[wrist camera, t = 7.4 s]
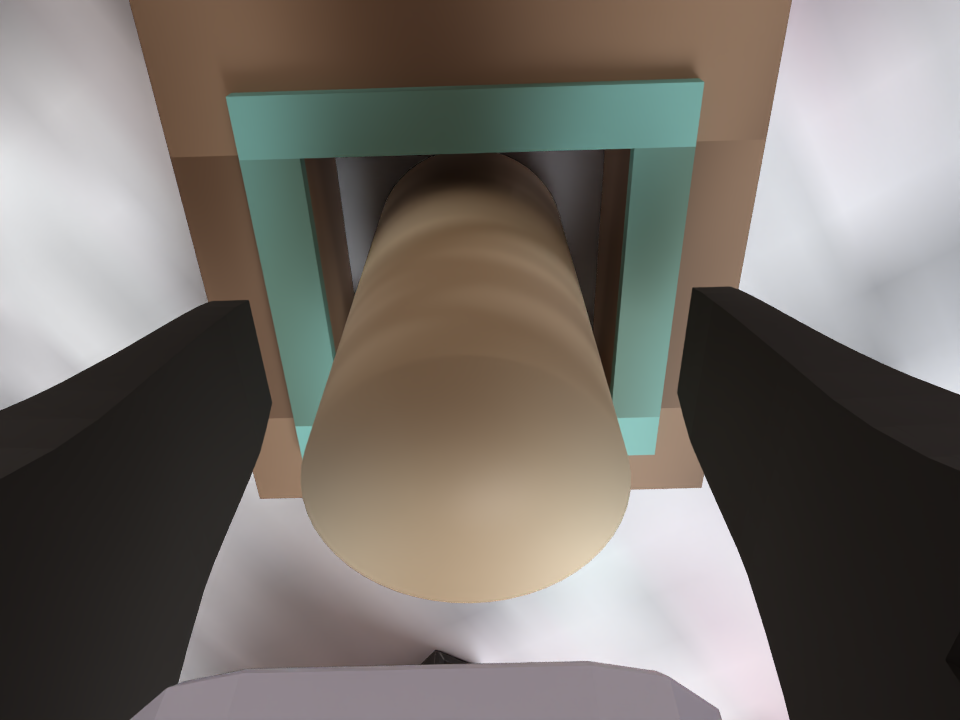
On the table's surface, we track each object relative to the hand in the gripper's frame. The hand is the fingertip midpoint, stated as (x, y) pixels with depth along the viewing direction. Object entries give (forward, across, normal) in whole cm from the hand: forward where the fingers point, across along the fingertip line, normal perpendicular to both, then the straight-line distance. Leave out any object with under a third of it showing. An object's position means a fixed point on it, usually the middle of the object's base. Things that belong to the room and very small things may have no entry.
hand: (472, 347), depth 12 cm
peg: (+4, 0, 0) cm, 4 cm away
